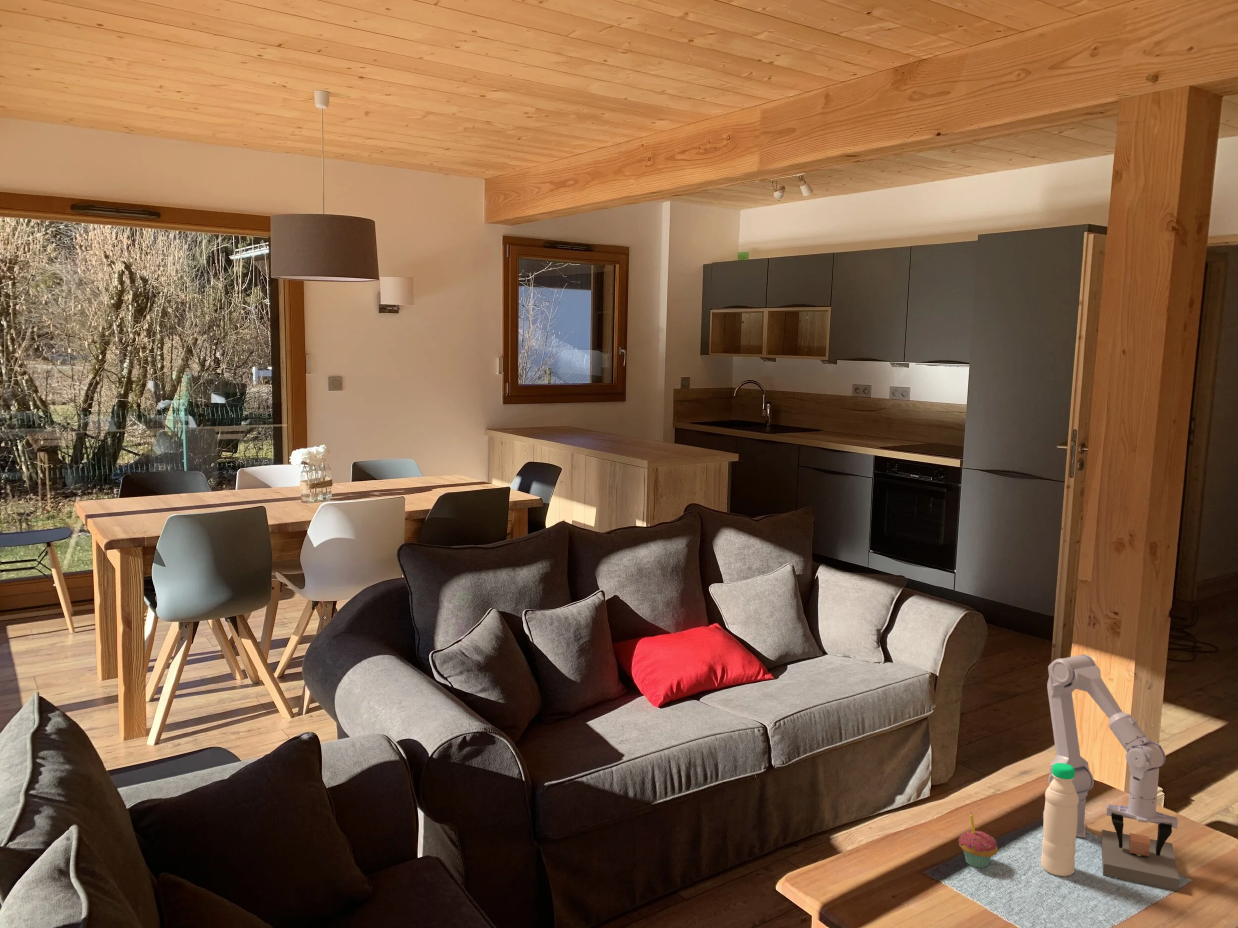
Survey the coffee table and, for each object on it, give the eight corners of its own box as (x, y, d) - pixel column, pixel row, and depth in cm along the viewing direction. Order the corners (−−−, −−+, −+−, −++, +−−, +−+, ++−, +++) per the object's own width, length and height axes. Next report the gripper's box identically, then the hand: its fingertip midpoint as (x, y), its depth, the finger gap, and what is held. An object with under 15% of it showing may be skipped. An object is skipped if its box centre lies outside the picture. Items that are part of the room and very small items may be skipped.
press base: (1102, 874, 219) (1103, 863, 219) (1101, 840, 235) (1102, 829, 235) (1178, 891, 213) (1179, 879, 212) (1171, 854, 229) (1172, 843, 229)
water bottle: (1077, 879, 217) (1084, 773, 215) (1044, 875, 219) (1051, 770, 216) (1069, 863, 224) (1076, 760, 222) (1037, 859, 226) (1043, 758, 223)
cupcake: (955, 865, 222) (957, 816, 221) (960, 849, 230) (963, 801, 229) (994, 875, 218) (997, 825, 217) (998, 858, 226) (1001, 810, 225)
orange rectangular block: (1128, 865, 223) (1130, 840, 222) (1127, 857, 227) (1129, 832, 226) (1148, 869, 221) (1150, 843, 221) (1147, 861, 225) (1148, 836, 224)
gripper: (1108, 794, 222) (1104, 850, 223) (1180, 807, 215) (1176, 864, 217) (1107, 782, 228) (1103, 836, 229) (1177, 795, 222) (1173, 850, 223)
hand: (1138, 849), depth 224 cm, fingers open, 7 cm apart
